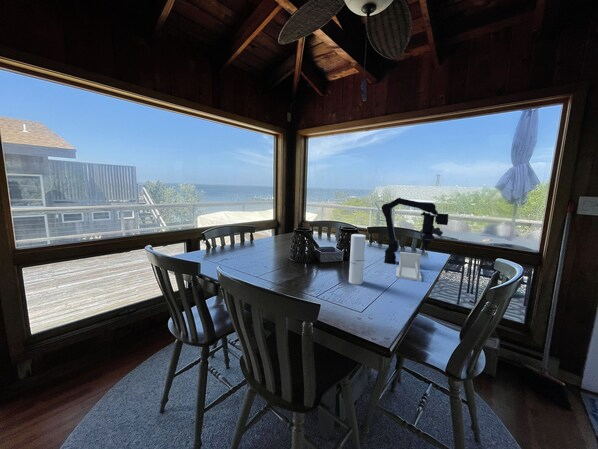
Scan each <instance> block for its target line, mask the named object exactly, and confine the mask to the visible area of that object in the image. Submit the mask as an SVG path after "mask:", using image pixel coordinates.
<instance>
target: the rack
mask: <svg viewBox="0 0 598 449" xmlns="http://www.w3.org/2000/svg"><path fill="white" fill-rule="evenodd" d="M399 260H400V259H399ZM399 260H398V262H399V264H398V266H396V269H395V271H396V272H395V278H396V279H404V280H410V281H418V282H423V279H422V274H421V270H420V269H421V268H420V269H419V267H418V262H416V264H415V268H409V267H402V260H400V261H399Z"/></svg>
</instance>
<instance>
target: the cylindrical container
mask: <svg viewBox="0 0 598 449" xmlns="http://www.w3.org/2000/svg"><path fill="white" fill-rule="evenodd" d="M366 238H367V235H366V234H362V233H361V234H360V233H353V234H351V236H350V254H349V255H350V256H349V271H348V283H350V284H352V285H362V284H363V282H364V271H365V269H364V267H365V256H366V255H365V252H366V240H367V239H366Z"/></svg>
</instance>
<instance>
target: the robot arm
mask: <svg viewBox="0 0 598 449" xmlns="http://www.w3.org/2000/svg"><path fill="white" fill-rule="evenodd" d="M398 205H403V206H406V207H411V208H416V209H420V210H421V211H423V212H422V213H421V214H420V216H423V220H422V227H421V228H422V229H420V231H419V236H420V240H421V244H422V247H423V249H424V250H428V247H429V245H430V244H431V242H433V241H434V240H435V236H434V235H437V236H438V237H440V238H441V236H442V235H443V233H444V232H443V231H442V230H441V228H440V227H435V226H434V223H436V225H441V226H448V224H449V223H448V222H449V213H439V212H438V211H437V209H436V208H437V207H436V204H435V203H433V202H426V201H424V202H421V201H416V200H412V199H406V198H401V197H397V198H396V199H394V200H392V201H390V202H388V203H384V204H382V206H381V212H382V213H383V217H384V218H385V223H386V230H387V234H388V247H387V248H386V249H385V250H384V261H383V262H384V263H385V264H390V265H391V264H392V265H393V264H395V263H396V262H397V261H396V260H397V255H396V252H398V250H399V248H400V246H401V244H400V239H397V237H396V234H395V227H394V220H393V208H395V207H396V206H398Z"/></svg>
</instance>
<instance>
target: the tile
mask: <svg viewBox="0 0 598 449" xmlns="http://www.w3.org/2000/svg"><path fill="white" fill-rule="evenodd" d="M421 259H422V254H421V253H417V252H416V253H414V252H404V251H400V252H399V260H398V262H399V261H400V260H402V267H407V268H414V269H415V264H416V262H418V267H419V269H421Z"/></svg>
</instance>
